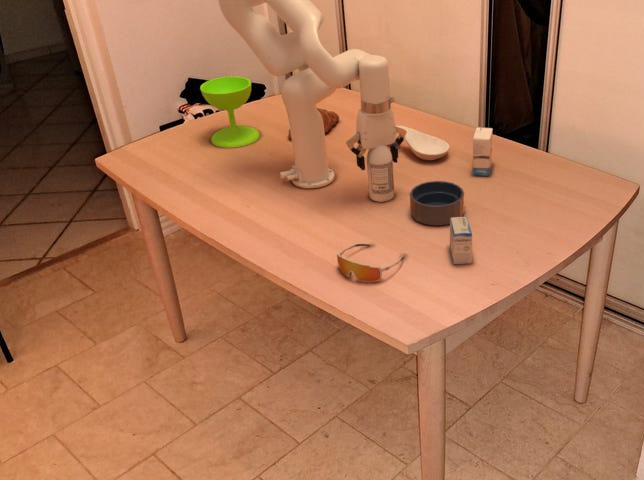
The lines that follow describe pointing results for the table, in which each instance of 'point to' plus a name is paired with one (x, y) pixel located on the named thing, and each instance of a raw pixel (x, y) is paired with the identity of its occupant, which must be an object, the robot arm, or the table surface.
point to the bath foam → (380, 173)
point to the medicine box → (460, 240)
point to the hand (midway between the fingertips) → (377, 164)
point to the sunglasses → (361, 267)
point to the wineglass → (230, 109)
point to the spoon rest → (425, 144)
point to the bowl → (436, 202)
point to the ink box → (482, 151)
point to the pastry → (326, 120)
